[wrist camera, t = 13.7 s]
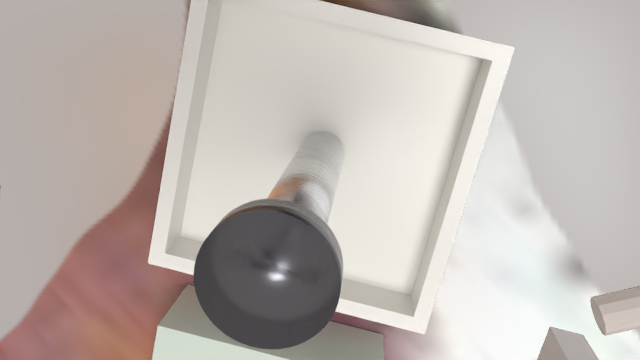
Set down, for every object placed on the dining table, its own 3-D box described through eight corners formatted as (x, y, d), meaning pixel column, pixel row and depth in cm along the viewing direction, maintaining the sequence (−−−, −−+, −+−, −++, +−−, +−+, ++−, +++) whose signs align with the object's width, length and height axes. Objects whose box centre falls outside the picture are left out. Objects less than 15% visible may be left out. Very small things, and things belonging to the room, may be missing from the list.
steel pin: (294, 107, 31) (207, 195, 15) (368, 126, 31) (356, 233, 15) (278, 179, 32) (182, 328, 16) (349, 197, 32) (321, 365, 16)
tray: (215, -24, 31) (195, -30, 27) (499, 44, 30) (514, 47, 27) (170, 239, 35) (147, 263, 31) (419, 303, 34) (424, 334, 31)
